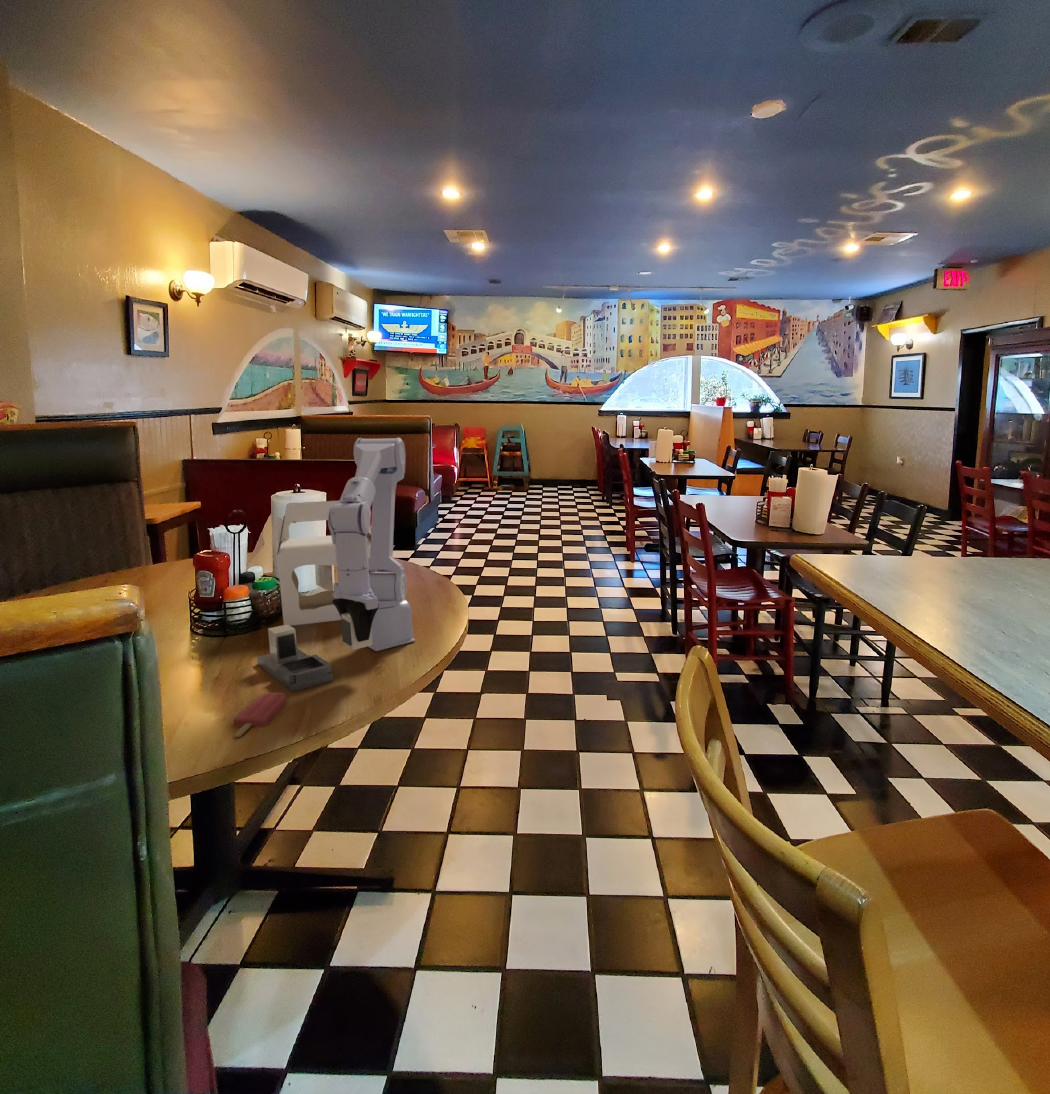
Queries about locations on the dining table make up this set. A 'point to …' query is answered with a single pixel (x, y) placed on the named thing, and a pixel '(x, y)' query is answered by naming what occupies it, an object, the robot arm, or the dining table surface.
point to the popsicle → (259, 712)
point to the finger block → (352, 634)
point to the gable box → (302, 554)
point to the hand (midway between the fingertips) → (357, 637)
